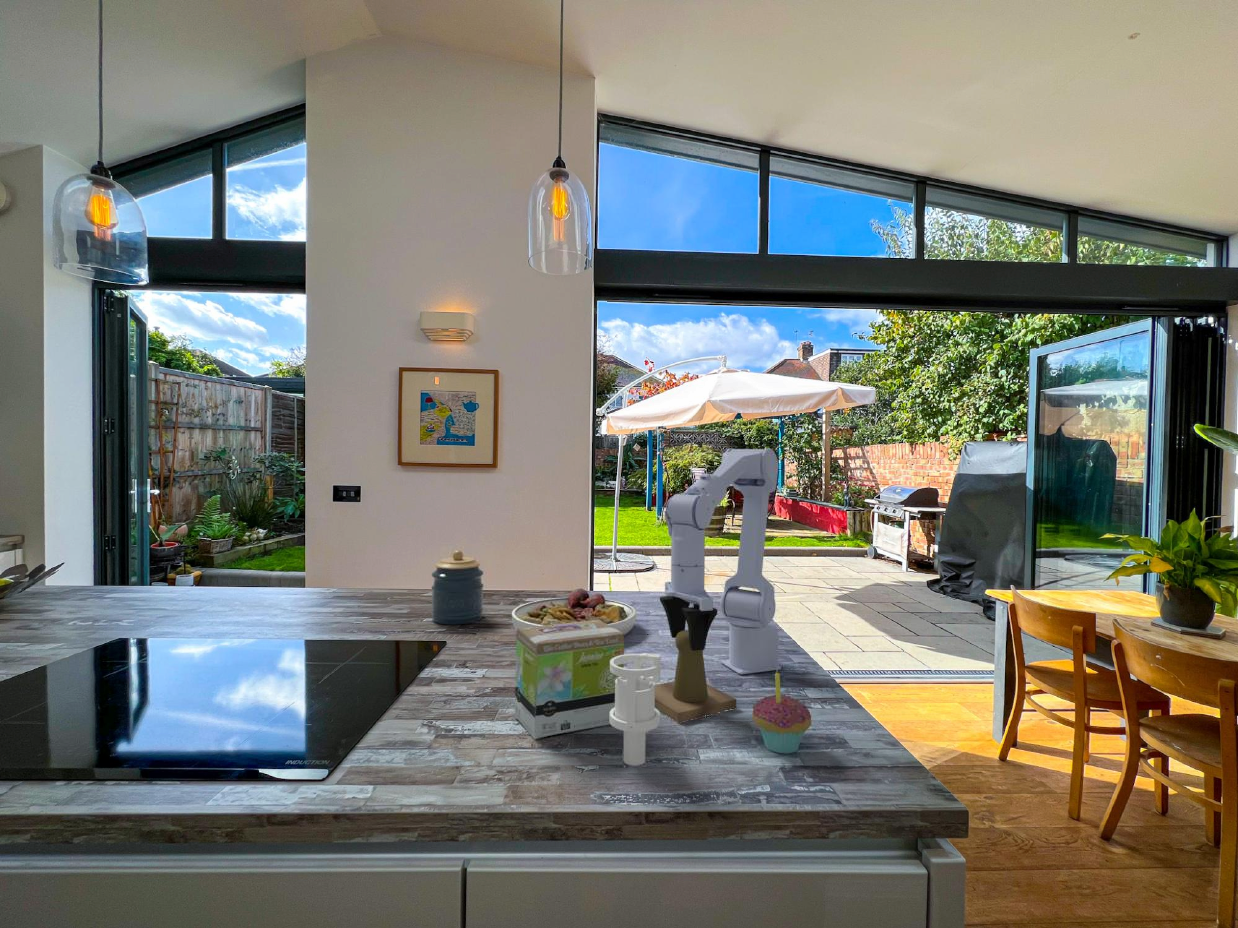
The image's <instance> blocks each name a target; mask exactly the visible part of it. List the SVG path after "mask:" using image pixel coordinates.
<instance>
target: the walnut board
mask: <svg viewBox="0 0 1238 928" xmlns="http://www.w3.org/2000/svg"><path fill="white" fill-rule="evenodd" d="M674 681H675V680H674ZM674 681H670V682H665V683H664V682H663V683H659V684H655V708H656V709H657V710H658V711H660V714H662V713H663V714H662V715H664V716H665V715H667V716H668V717H667V716H666V717H667V718H669V717H670V718H671V720H672V719H673V720H674V721H673V720H672V721H673V722H675V723H676V722H677V723H676V724H681V723H680V722H682V723H685V722H684V721H686V722H688V721H687V720H690V721H692V720H691V719H694V720H696V719H695V718H698V719H700V718H699V717H702V718H704V717H703V716H705V715H706V717H708V716H707V715H710V716H712V715H711V714H714V715H717V714H716V713H718V712H722V713H724V712H723V711H725V710H730V709H734V710H736V709H737V698H736V697H733V696H731V695H729V694H728V693H726V692H723V691H721V690H720V689H717V688H715V687H714V686H712V685H710V684H708V683H707V691H708V698H707V699H706V700H704V701H702V702H683V701H679V700H677V699H675V698H674V697H673V688H674ZM651 687H652V685H651V686H650V685H649V689H650V688H651ZM735 708H736V709H735ZM730 711H731V710H730ZM718 714H719V713H718ZM670 718H669V719H670Z"/></svg>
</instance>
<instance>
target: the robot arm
mask: <svg viewBox="0 0 1238 928" xmlns="http://www.w3.org/2000/svg"><path fill="white" fill-rule="evenodd" d="M778 472H779V461H778V458H777V454H776V453H775V451H774V450H773V449H772V448H770V447H769V448H761V449H760V448H759V449H758V448H757V449H756V448H753V449H751V448H748V449H747V448H736V449H735V448H727V449H726V450H725V452H723V453H722V456H721V464H720V465H719V466H718V467H717V468H716V470H715V471H714V472H713V473H702V474H700V475H699V478H698V479H697V480H696V481H695V482H694V483H693V484H692V485H690V486H689V487H688V488H687V489H686V490H685V491H684V492H683V493H676V494H674V495H673V496H671V497H670V498H669V499H668V500H667V503H666V505H665V510H664V518H665V522H666V524H667V532H668V536H669V537H670V538H671V540H670V541H671V544H670V545H671V547H670V549H671V550H670V552H671V553H670V554H671V555H670V559H671V560H670V568H671V569H670V581H665V582H664V595H666V596H660V597H659V602H660V603H661V605H662V607H663V609H664V612H665V615H666V618H667V623H668V628H669V632H670V636H671V638H672V639H676V636H677V634H678V633H679V632H681V631H684V630H686V625H687V630H688V631H689V642H690V647H691V650H693V651H696V650H703V649H704V646H705V643H706V644H707V638H708V634H709V631H710V628H711V625H712V623H713V621H714V619H716V617H717V615H718V608H715V607H714V598H712V597H711V596H710V595H709V594H708V592H707V590H706V589H705V568H706V567H705V565H706V564H705V562H706V559H705V557H706V556H705V555H706V553H705V552H706V551H705V549H706V546H705V545H706V528H708V527H709V526H710V525H711V521H712V517H713V514H714V513H715V508H717V506H719V505H720V504H721V502H723V501H724V499H725V498H726V497H727V492H728V491H727V490H728V489H727V488H729V487H730V486H731V485H732V487H733V488H734V489H735V490H737V491H739V492H741V494H742V495H743V505H742V515H741V517H742V518H741V527H740V538H739V546H738V547H739V549H738V556H737V557H738V558H737V570H736V573H735V574H734V575H731V577H729V578H727V579H726V580H725V583H724V588H723V592H722V594H721V596H720V607H719V608H720V611H721V614H722V615H723V617H725V618H726V619H725V620H726V623H729V624H728V625H729V636H728V637H729V639H728V645H729V647H728V649H729V650H728V652H729V653H728V656H729V657H728V659H727V658H726V659H725V658H724V659H720V663H721V664H722V665H725V666H726V667H727V668H729V669H731V671H734V672H736V673H737V674H738V675H746V674H747V675H748V674H755V673H756V674H757V673H763V672H770V671H776V669H778V671H779V670H781V668H782V666H780V663H779V661H780V660H779V658H780V656H779V655H780V654H779V651H780V649H779V648H780V636H779V635H780V634H779V631H778V629H777V627H776V625H775V624H774V623H773V622H772V621H773V619H774V618H775V615H776V614H775V613H776V608H777V607H776V599H775V598H776V597H775V587H774V585H773V584H772V583H771V582H770V581H769V580H768V579H766V577H765V576H764V575H763V568H764V567H763V566H764V556H765V555H764V553H765V544H766V543H765V542H766V533H767V532H766V531H767V522H768V521H767V520H768V511H769V510H768V509H769V499H770V494H771V493H773V492H775V491H776V488H777V484H778V474H779V473H778ZM743 588H747V589H743ZM750 589H752V590H750ZM753 589H754V590H753ZM690 604H691V605H693V606H691V605H690ZM690 606H691V607H690ZM705 647H706V646H705ZM704 650H705V649H704ZM704 650H703V651H704Z"/></svg>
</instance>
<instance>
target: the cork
mask: <svg viewBox="0 0 1238 928" xmlns="http://www.w3.org/2000/svg"><path fill="white" fill-rule="evenodd" d="M674 639H675V640H674V641H675V647H676V649H677V650H678V653H677V660H676V668H675V675H674V688H673V697H674V698H675V699H677V700H679V701H683V702H702V701H704V700H706V699H707V698H708V691H707V684H708V683H707V677H706V668H705V659H704V651H705V649H706V646H707V642H706V643H705V646H704V649H703V650H696V651H693V650H691V647H690V642H689V631H688V629H685V630H684V631H681V632H679V633H678V634H677V636H676V638H674Z"/></svg>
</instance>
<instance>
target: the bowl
mask: <svg viewBox="0 0 1238 928" xmlns="http://www.w3.org/2000/svg"><path fill="white" fill-rule="evenodd" d="M590 620H600V621H602V622H604V623H606V624H607V625H609V626H611V627H613V628H615V629H616V630H618V631H620V632H622V633H623V634H624V636H625V635H627V634H628V633H629V632H631V630H632V628H633V627H634V625H635V624H636V620H637V610H636V608H634V607H633V606H631V605H630V604H628V603H625V602H622V601H617V600H613V599H607V598H605V596H604V595H603V594H602V593H595V594H592V595H591V596H590V595H589V593H588V590H586V589H584V588H577V589H575V590H573V591H571V592H570V593H569V595H568V597H554V598H546V599H545V598H544V599H539V600H534V601H530V602H527V603H523V604H521V605H518V606H517V607H515V608H514V609H513V610H512V612H511V621H512V624H513V627H514V628H515V630H516V631H517V629H518V628H524V627H534V626H543V625H553V624H562V623H571V622H580V621H590Z"/></svg>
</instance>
